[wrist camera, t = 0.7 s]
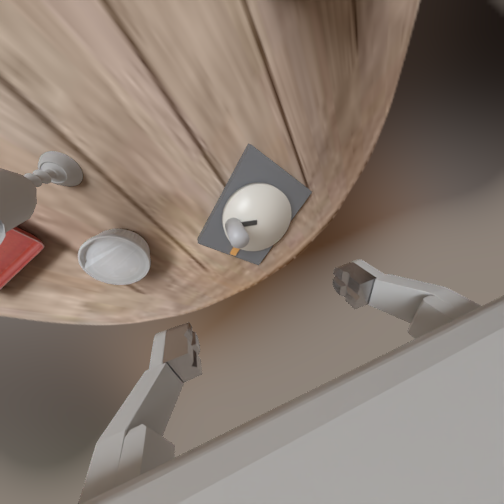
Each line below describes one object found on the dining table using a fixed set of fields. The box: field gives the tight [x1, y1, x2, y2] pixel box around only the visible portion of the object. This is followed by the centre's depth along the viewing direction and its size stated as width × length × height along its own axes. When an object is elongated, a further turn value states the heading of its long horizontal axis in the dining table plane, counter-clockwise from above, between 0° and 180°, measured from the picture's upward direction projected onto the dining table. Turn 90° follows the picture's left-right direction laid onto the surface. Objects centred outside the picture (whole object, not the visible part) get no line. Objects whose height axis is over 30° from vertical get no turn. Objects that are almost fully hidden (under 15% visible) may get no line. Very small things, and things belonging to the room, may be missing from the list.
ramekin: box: [78, 229, 151, 285], centre depth 36 cm, size 11×11×5 cm
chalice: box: [0, 151, 83, 245], centre depth 21 cm, size 7×7×18 cm
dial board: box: [198, 144, 312, 265], centre depth 41 cm, size 22×17×3 cm
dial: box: [222, 182, 291, 251], centre depth 37 cm, size 15×15×8 cm
